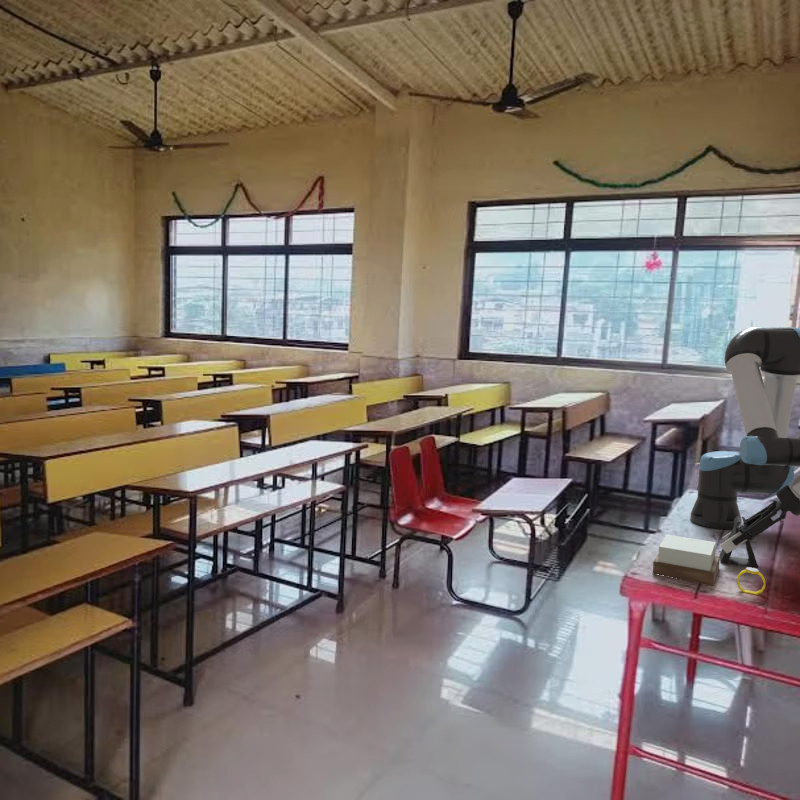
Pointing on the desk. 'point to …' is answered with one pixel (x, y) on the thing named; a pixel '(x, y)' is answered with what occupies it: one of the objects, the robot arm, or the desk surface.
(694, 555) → the upper block
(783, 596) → the desk surface
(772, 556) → the desk surface
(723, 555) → the phone stand
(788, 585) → the desk surface
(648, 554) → the desk surface
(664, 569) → the lower block
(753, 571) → the watch
